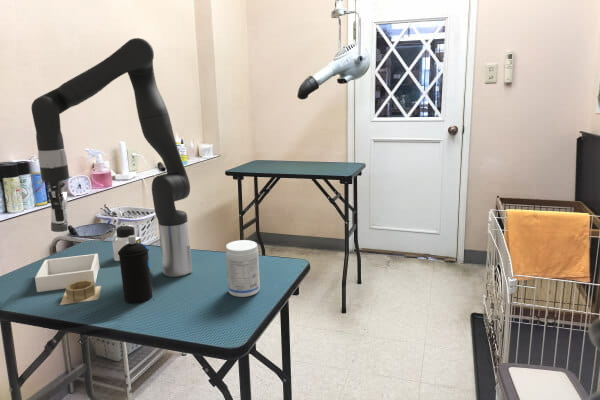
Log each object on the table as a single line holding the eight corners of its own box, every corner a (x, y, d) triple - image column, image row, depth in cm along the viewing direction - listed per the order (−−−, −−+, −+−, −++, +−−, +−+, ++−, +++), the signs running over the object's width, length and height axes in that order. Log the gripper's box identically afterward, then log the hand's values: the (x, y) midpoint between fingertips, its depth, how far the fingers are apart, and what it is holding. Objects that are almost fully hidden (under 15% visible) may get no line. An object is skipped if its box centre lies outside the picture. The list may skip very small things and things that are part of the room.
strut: (54, 227, 150) (54, 184, 148) (69, 228, 151) (69, 185, 148) (48, 231, 146) (48, 187, 143) (64, 232, 147) (64, 188, 144)
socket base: (101, 290, 147) (100, 276, 146) (99, 304, 137) (97, 289, 136) (66, 295, 144) (64, 281, 143) (60, 309, 135) (58, 294, 134)
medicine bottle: (132, 262, 170) (128, 229, 167) (114, 261, 171) (110, 229, 168) (142, 255, 176) (139, 223, 174) (125, 254, 178) (121, 223, 175)
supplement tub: (230, 284, 149) (227, 239, 145) (261, 284, 148) (259, 239, 145) (225, 298, 139) (222, 250, 136) (258, 298, 139) (256, 250, 135)
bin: (99, 270, 163) (97, 253, 161) (95, 288, 148) (93, 270, 147) (47, 276, 158) (45, 259, 157) (37, 296, 143) (34, 277, 142)
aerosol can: (137, 311, 132) (129, 242, 128) (117, 305, 137) (109, 238, 132) (160, 300, 139) (153, 234, 134) (141, 294, 143) (133, 230, 139)
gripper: (44, 161, 149) (52, 214, 154) (34, 169, 136) (43, 226, 140) (70, 160, 152) (77, 212, 156) (63, 167, 138) (71, 224, 143)
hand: (61, 218), depth 148 cm, fingers closed on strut, 4 cm apart
